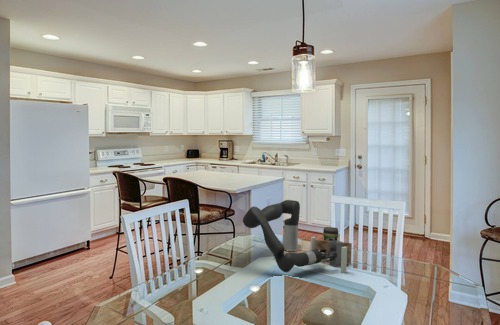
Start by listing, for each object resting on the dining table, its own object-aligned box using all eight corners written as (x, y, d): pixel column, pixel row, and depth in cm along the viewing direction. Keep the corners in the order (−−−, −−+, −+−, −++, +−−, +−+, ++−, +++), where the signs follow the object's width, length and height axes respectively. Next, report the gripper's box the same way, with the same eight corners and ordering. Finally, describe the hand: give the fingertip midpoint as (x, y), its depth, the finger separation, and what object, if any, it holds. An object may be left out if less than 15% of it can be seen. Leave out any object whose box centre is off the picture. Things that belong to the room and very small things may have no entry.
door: (314, 259, 200) (315, 240, 200) (314, 259, 201) (315, 239, 201) (350, 263, 194) (351, 243, 194) (350, 263, 195) (351, 243, 195)
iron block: (329, 264, 194) (330, 241, 194) (335, 263, 197) (336, 240, 196) (335, 267, 190) (336, 243, 189) (341, 266, 193) (342, 242, 192)
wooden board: (309, 260, 202) (310, 237, 201) (313, 259, 203) (314, 236, 203) (342, 273, 181) (343, 247, 180) (346, 272, 183) (347, 247, 182)
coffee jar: (338, 255, 213) (339, 226, 212) (337, 259, 205) (338, 229, 204) (322, 253, 215) (323, 225, 215) (321, 257, 208) (322, 228, 207)
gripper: (301, 260, 187) (321, 255, 197) (319, 268, 176) (340, 263, 185) (301, 247, 187) (322, 243, 196) (320, 254, 175) (341, 249, 184)
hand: (331, 252), depth 190 cm, fingers open, 8 cm apart
